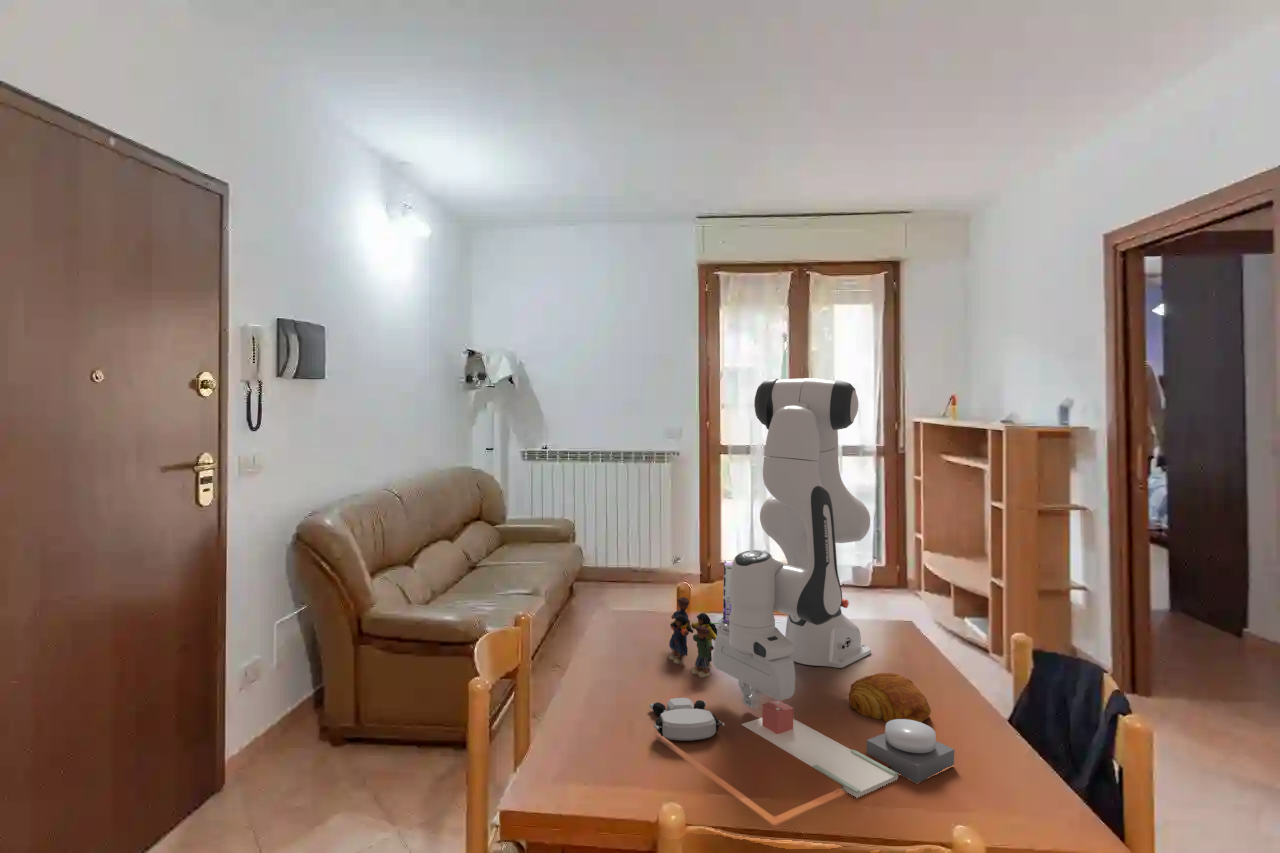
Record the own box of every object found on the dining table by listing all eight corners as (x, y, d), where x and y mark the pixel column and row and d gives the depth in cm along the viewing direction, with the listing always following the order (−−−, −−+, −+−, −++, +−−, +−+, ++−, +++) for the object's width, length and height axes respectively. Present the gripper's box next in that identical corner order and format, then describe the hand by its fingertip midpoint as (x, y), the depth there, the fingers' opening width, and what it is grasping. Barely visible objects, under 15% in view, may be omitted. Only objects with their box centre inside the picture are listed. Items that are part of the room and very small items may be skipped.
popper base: (903, 742, 124) (903, 725, 124) (954, 766, 115) (954, 749, 115) (866, 757, 119) (866, 740, 118) (917, 784, 110) (917, 765, 110)
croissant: (837, 712, 141) (833, 674, 140) (900, 693, 145) (896, 656, 145) (882, 744, 127) (877, 702, 127) (950, 721, 132) (945, 681, 131)
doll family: (647, 650, 170) (647, 597, 169) (676, 643, 175) (676, 591, 174) (707, 681, 151) (708, 621, 150) (738, 672, 156) (738, 614, 156)
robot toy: (646, 718, 135) (657, 751, 120) (646, 695, 135) (657, 725, 120) (707, 715, 136) (726, 747, 121) (707, 692, 136) (725, 721, 122)
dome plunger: (904, 737, 122) (904, 715, 122) (945, 756, 116) (945, 733, 116) (875, 748, 118) (875, 726, 118) (915, 769, 111) (916, 745, 111)
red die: (778, 720, 130) (778, 698, 130) (793, 728, 127) (793, 706, 127) (762, 725, 128) (762, 703, 128) (777, 734, 125) (777, 711, 125)
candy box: (722, 622, 192) (723, 564, 191) (723, 615, 198) (724, 559, 197) (772, 625, 190) (773, 566, 189) (772, 618, 195) (772, 561, 195)
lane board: (780, 715, 134) (780, 710, 134) (897, 779, 111) (897, 773, 111) (729, 732, 127) (729, 726, 127) (843, 804, 104) (843, 797, 104)
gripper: (706, 623, 140) (705, 690, 141) (775, 654, 123) (774, 730, 123) (729, 618, 144) (729, 683, 144) (801, 648, 126) (800, 721, 127)
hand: (750, 705), depth 134 cm, fingers closed
